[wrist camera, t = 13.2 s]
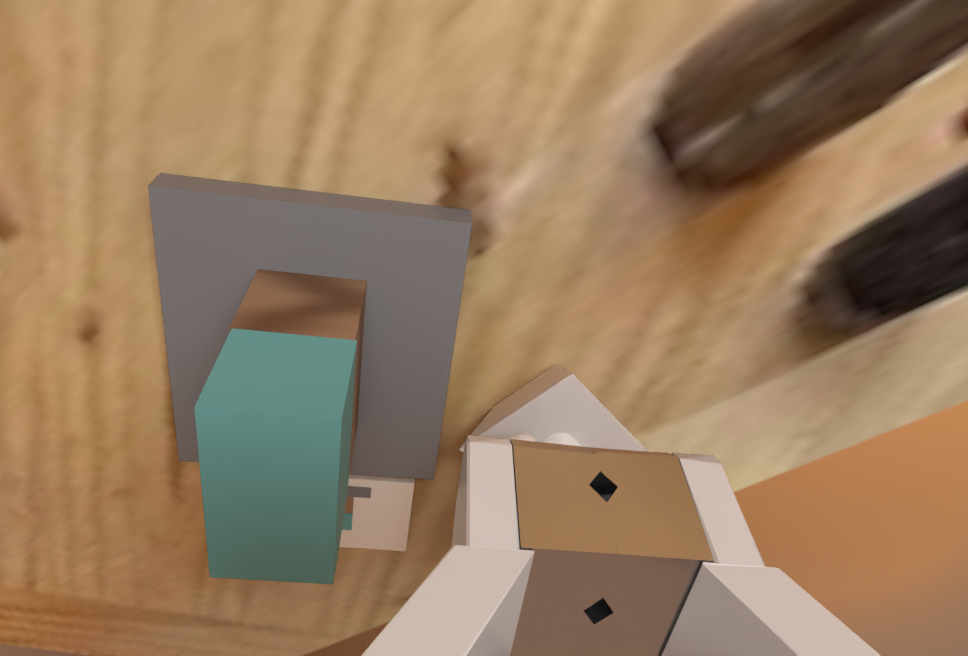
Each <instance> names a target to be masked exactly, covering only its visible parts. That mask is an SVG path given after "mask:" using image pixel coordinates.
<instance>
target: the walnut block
mask: <svg viewBox="0 0 968 656" xmlns="http://www.w3.org/2000/svg"><path fill="white" fill-rule="evenodd" d="M366 287H367V281H366V280H356V279H347V278H338V277H328V276H319V275H309V274H300V273H291V272H281V271H272V270H262V269H258V270H257V272H256V274H255V276H254V278H253V280H252V282H251V284H250V286H249V288H248V291H247V293H246V295H245V297H244V299H243V301H242V303H241V305H240V307H239V309H238V311H237V313H236V315H235V318H234V320H233V322H232V324H231V326H230V331H231V329H232V328H234V329H245V330H255V331H265V332H275V333H286V334H296V335H306V336H317V337H327V338H337V339H347V340H357V350H356V366H355V382H354V398H353V414H352V430H351V446H350V463H349V474H350V468H351V462H352V455H353V449H354V443H355V437H356V431H357V423H358V408H359V393H360V377H361V362H362V347H363V332H364V317H365V302H366ZM348 480H349V479H348Z"/></svg>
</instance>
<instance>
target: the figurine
mask: <svg viewBox="0 0 968 656" xmlns="http://www.w3.org/2000/svg"><path fill="white" fill-rule="evenodd" d="M471 436H480V437H489V438H499V439H508V440H509V441H510V439H516V440H525V441H535V442H544V443H554V444H563V445H572V446H582V447H592V448H606V449H619V450H632V451H646V452H648V451H647V450H646V449H645V448H644V447H643V446H642V445H641V444H640V443H639V442H638V441H637V440H636V439H635V438H634V437H633V435H632V434H631V433H630V432H629V431H628V430H627V429H626V428H625V427H624V426H623V425H622V424H621V423H620V422H619V421H618V420H617V419H616V418H615V417H614V416H613V415H612V414H611V413H610V412H609V411H608V410H607V409H606V408H605V407H604V406H603V405H602V404H601V403H600V402H599V401H598V399H597V398H596V397H595V396H594V395H593V394H592V393H591V392H590V391H589V390H588V389H587V388H586V387H585V386H584V385H583V384H582V383H581V382H580V381H579V380H578V379H577V378H576V377H575V376H574V375H573V374H572V373H571V372H569V371H567V370H566V369H564V368H562V367H561V366H559V365H557V364H556V365H554V366H553V367H551V368H550V369H548V370H547V371H545V372H544V373H542V374H541V375H539V376H538V377H536V378H535V379H533V380H532V381H530V382H529V383H527V384H526V385H525V386H523V387H522V388H520V389H519V390H517V391H516V392H514V393H513V394H511V395H510V396H508V397H507V398H505V399H504V400H502V401H501V402H499V403H498V404H496V405H495V406H494V407H493V408H492V409H491V411H490V412H489V413H488V414H487V416H486V417H485V418H484V419H483V420H482V422H481V423H480V424H479V425H478V426H477V428H476V429H475V430H474V431H473V433H472V434H471ZM464 445H465V442H464V443H463V445H462V446H461V447H460V448H459V450H460V451H461V452H464Z"/></svg>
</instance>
